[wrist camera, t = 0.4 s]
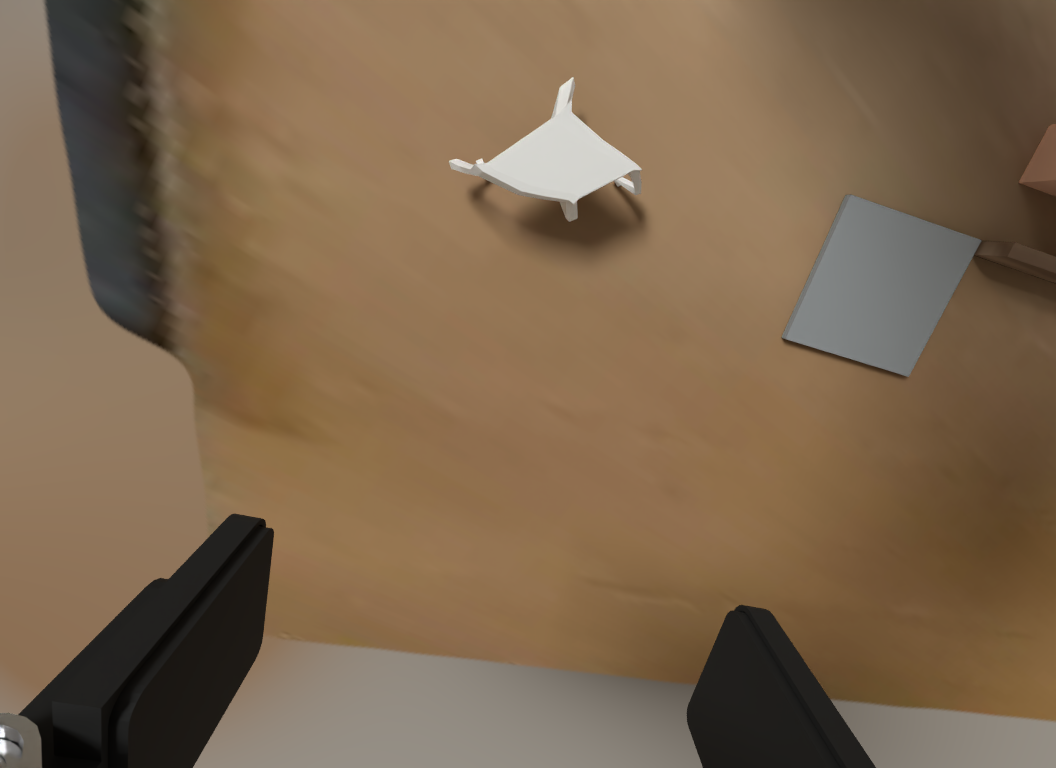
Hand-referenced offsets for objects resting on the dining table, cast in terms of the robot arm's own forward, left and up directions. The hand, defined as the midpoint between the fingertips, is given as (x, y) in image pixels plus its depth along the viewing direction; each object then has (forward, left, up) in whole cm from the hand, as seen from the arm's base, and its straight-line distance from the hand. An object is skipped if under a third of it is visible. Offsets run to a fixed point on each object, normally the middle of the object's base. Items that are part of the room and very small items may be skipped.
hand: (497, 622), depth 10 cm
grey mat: (-11, +27, -30) cm, 42 cm away
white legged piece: (-12, -1, -31) cm, 33 cm away
